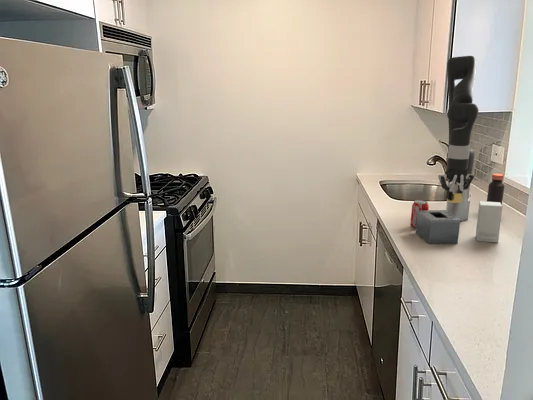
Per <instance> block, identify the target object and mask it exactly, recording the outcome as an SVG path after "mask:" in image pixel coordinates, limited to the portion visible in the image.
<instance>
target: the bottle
mask: <svg viewBox="0 0 533 400" xmlns="http://www.w3.org/2000/svg"><path fill="white" fill-rule="evenodd" d="M503 181H504V174H502V173H492V174H491V182H489V184H488V187H487V189H488V190H487V195H486V202H500V203H501V205H502V206H503V199H504V191H505V184H504V183H503Z"/></svg>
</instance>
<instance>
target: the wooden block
mask: <svg viewBox="0 0 533 400" xmlns="http://www.w3.org/2000/svg"><path fill="white" fill-rule="evenodd" d="M447 202H450V203H462V194H461V193H452V200H451V201H449V200H448V199H447V198H446V203H447Z"/></svg>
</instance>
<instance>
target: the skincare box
mask: <svg viewBox="0 0 533 400" xmlns="http://www.w3.org/2000/svg"><path fill="white" fill-rule="evenodd" d="M477 211H478V212H477V221H476V229H475V239H476V241H477V242H486V243H487V242H488V243H499V239H500V231H501V222H502V221H501V220H502V212H503V204H502V205H501V203H500V202H487V201H484V200H480V201H478V209H477Z"/></svg>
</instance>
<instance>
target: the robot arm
mask: <svg viewBox="0 0 533 400" xmlns="http://www.w3.org/2000/svg"><path fill="white" fill-rule="evenodd" d="M446 66H447V67H446V73H447V74H446V75H447V87H448V88H447V90H448V109H447V114H446V117H447V118H448V119H447V120H448V146H447V147H448V149H447V160H446V161H447V162H446V171H445V173H443V174H442V175H441V174H439V175H438V179H439V182H440V184H441V188H442V189H443V190H445V191H446V200H447V199H448V200H449V201H451V200H452V193H461V194H462V203H450V202H447V201H446V206H445V210H446V211H447V212H449V213H450V214H452V215H454V216H455V217H457V218H458V219H460V222H462V221H468V220H469V215H470V205H471V200H470V199H469V198H470V190H471V189H470V188H471V184H472V181H473V180H474V178H475V176H474V175H473V168H474V167H473V166H474V162H475V152H474V150H473V149H470V145H471V144H470V143H471V135H472V130H473V128H474V125H475V122H476V121H477V118H478V115H479V113H480V112H479V107H478V105H477V104H476V103H473V101H474V99H473V98H474V96H473V94H474V93H473V91H474V90H473V89H474V85H475V80H476V74H477V60H476V58H475V56H473V55H465V56H464V55H462V56H456V57H455V56H454V57H450V58H449V59H448V61H447V64H446ZM457 80H460V81H459V82H457ZM446 180H447V181H446Z"/></svg>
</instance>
